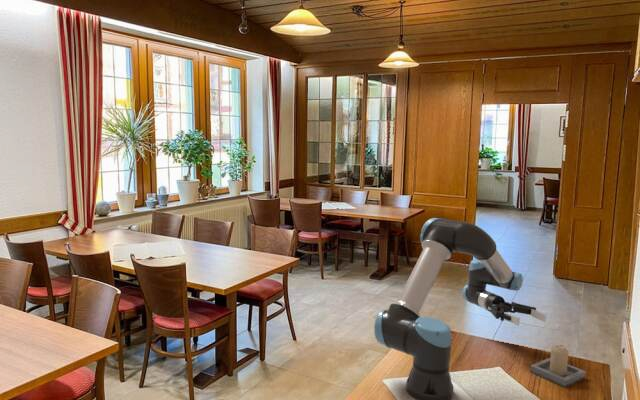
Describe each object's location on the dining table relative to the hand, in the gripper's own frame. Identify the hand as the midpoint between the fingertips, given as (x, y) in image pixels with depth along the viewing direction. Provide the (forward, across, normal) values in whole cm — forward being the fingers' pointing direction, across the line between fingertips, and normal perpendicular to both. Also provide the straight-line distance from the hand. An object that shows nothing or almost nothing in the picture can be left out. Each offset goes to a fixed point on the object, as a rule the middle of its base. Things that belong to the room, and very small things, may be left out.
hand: (532, 319), depth 184 cm
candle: (+14, 0, -15) cm, 20 cm away
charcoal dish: (+14, 0, -16) cm, 21 cm away
